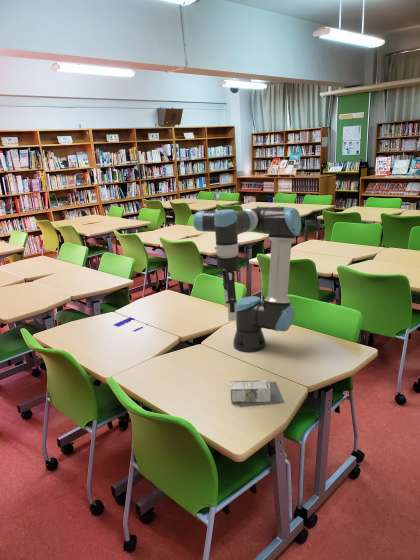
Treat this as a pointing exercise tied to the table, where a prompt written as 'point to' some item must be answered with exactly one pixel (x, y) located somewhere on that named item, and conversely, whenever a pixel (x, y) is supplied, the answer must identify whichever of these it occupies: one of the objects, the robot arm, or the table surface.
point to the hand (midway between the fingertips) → (230, 313)
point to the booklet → (127, 322)
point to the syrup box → (250, 391)
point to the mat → (274, 397)
